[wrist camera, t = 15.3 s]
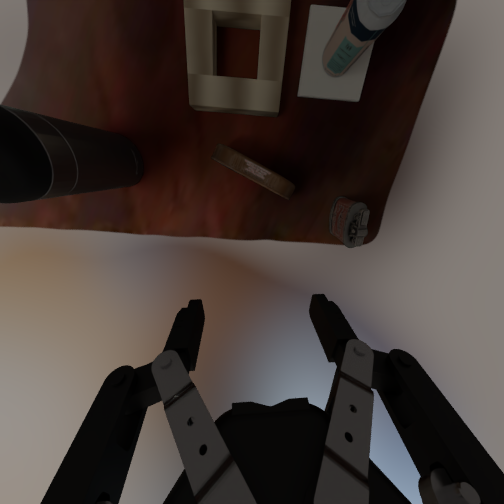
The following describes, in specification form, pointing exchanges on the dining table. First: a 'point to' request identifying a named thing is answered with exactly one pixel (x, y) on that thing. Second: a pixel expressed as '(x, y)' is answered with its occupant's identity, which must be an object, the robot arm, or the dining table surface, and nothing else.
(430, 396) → the robot arm
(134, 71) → the dining table surface
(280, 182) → the tin
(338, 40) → the beer can
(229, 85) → the socket block
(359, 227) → the lighter
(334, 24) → the pad
